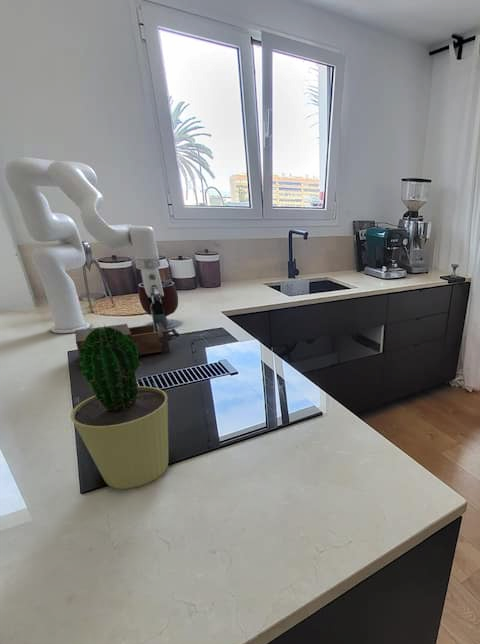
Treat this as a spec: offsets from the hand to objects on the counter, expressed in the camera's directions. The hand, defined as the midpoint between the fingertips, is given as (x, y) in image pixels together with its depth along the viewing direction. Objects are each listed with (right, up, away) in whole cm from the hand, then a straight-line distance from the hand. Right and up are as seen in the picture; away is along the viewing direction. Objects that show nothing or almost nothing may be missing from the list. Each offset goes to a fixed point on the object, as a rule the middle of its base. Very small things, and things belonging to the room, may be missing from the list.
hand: (156, 311), depth 144 cm
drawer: (+3, -14, -9) cm, 17 cm away
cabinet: (-8, -18, -15) cm, 25 cm away
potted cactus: (+31, -41, -66) cm, 84 cm away
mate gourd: (-6, -3, +18) cm, 20 cm away
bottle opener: (0, -10, +4) cm, 11 cm away
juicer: (-48, +7, +39) cm, 63 cm away
